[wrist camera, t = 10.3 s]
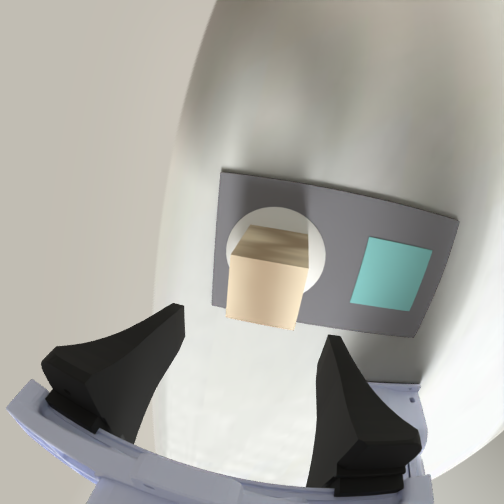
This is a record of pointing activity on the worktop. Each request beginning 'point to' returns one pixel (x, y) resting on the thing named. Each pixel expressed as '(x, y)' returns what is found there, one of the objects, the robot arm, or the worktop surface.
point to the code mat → (342, 251)
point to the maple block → (268, 277)
